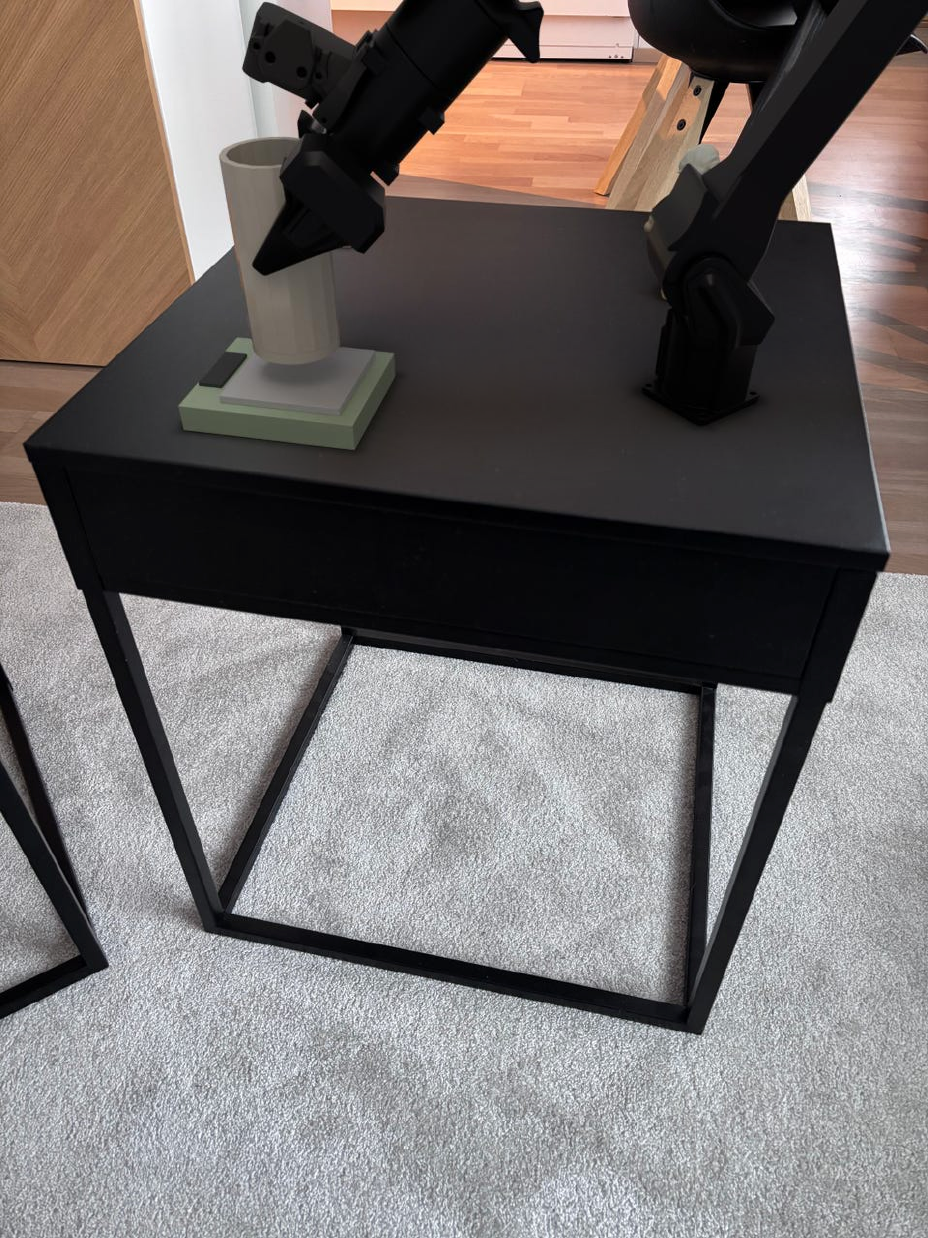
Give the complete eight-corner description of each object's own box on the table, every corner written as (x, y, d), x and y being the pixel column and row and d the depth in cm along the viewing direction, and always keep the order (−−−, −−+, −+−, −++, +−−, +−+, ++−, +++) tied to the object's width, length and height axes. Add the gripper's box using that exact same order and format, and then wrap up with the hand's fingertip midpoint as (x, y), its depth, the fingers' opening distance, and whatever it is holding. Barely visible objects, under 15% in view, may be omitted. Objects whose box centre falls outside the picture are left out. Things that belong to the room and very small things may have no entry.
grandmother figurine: (719, 287, 87) (747, 138, 78) (724, 305, 84) (753, 152, 75) (635, 284, 87) (653, 136, 79) (637, 302, 84) (656, 150, 76)
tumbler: (327, 318, 71) (306, 131, 62) (351, 355, 67) (332, 159, 58) (244, 333, 69) (211, 143, 61) (263, 371, 65) (230, 172, 56)
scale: (395, 376, 74) (393, 345, 73) (354, 450, 66) (351, 417, 65) (241, 360, 76) (235, 329, 75) (183, 430, 69) (176, 398, 67)
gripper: (327, -77, 59) (187, 119, 66) (298, -25, 45) (125, 215, 53) (454, 64, 65) (312, 230, 72) (462, 147, 51) (286, 343, 58)
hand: (264, 250), depth 63 cm, fingers closed on tumbler, 6 cm apart
